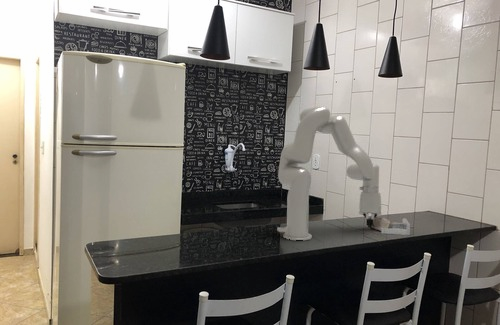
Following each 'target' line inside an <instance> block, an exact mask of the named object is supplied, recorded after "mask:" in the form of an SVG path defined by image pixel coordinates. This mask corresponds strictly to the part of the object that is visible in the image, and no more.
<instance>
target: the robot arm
mask: <svg viewBox="0 0 500 325" xmlns="http://www.w3.org/2000/svg"><path fill="white" fill-rule="evenodd" d="M299 121H300V122H299V123H298V125H297V127H296V131H295V134H294V140H293V142H288V143H286V144H285V145H284V147H283V148H282V150H281V152H280V153H281V154H280V160H279V165H278V166H279V167H278V172H277V173H278V174H277V176H278V180H279V183H280V184H281V185H283V186H285V187H289V189H288V192H287V197H286V198H287V199H286V203H287V204H286V206H287V207H286V208H287V209H286V226H284V227H278V226H277V228H276V230H277V232H278V233H283V235H282V236H283V238H284V239H285V238H286V240H289V239H290V241H296V240H303V241H308V240H309V241H310V240H311V239H312V237H313V235H312V234H311V233H309V208H310V207H309V205H310V204H309V199H310V189H311V183H312V175H311V173H310V171H309V170H308V169H307V168H305V167H302V166H299V165H305V164H308V163H309V162H310V161H311V160H312V159H311V158H312V153H313V149H314V142H315V136H316V133H317V132H318V133H322V134H327V135H331V136H332V138H333V140H334V142H335V145H336V147H337V149H338V151H339V152H340V153H342V154H343V155H345V156H347V157H349V158H350V159H352V160H353V162H354V163H353V164H350V165H349V166H348V167H347V169H346V175H347V176H348V178H350V179H352V180H357V181H362V186H359V190H360V195H359V196H360V197H359V204H358V205H359V206H358V207H359V210H358V214H359V215H360V216H363V217H364V218H365V219H366V226H367V228H372V226H373V219H374V218H375V217H379V216H382V196H381V193H380V192H379V188H380V187H379V186H380V185H379V184H380V166H379V165H378V164H374V163H373V162H372V159H371V157H370V155H368V153H367V152H366V151H365V150H364V149H363V148H362V147H361V146H360V145H359V144H358V143H357V142H356V141H355V138H354V135H353V134H352V131H351V129H350V126H349V123H348V122H347V120H346V118H345V117H344V116H342V115H331V111H330V109H329V108H328V107H325V106H315V107H308V108H305V109H303V110H302V111H301V112H300V114H299ZM369 214H371V215H370V216H369Z"/></svg>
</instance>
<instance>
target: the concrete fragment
mask: <svg viewBox="0 0 500 325" xmlns="http://www.w3.org/2000/svg"><path fill="white" fill-rule="evenodd" d="M392 223H393V222H391V221H390V220H389V219H388V218H384V217H379V216H376V217H375V218H374V219H373V226H372V227H371V228H372V229H374V230H376V231H380V232H381V228H392Z"/></svg>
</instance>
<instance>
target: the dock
mask: <svg viewBox="0 0 500 325" xmlns="http://www.w3.org/2000/svg"><path fill="white" fill-rule="evenodd" d="M391 223H392V228H381V231H380V233H381V234H384V235H385V234H387V235H401V236H402V235H403V236H410V235H411V224H410V222H409V221H408V219H407V218H405V217H404V218H402V222H396V223H395V222H391Z"/></svg>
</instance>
